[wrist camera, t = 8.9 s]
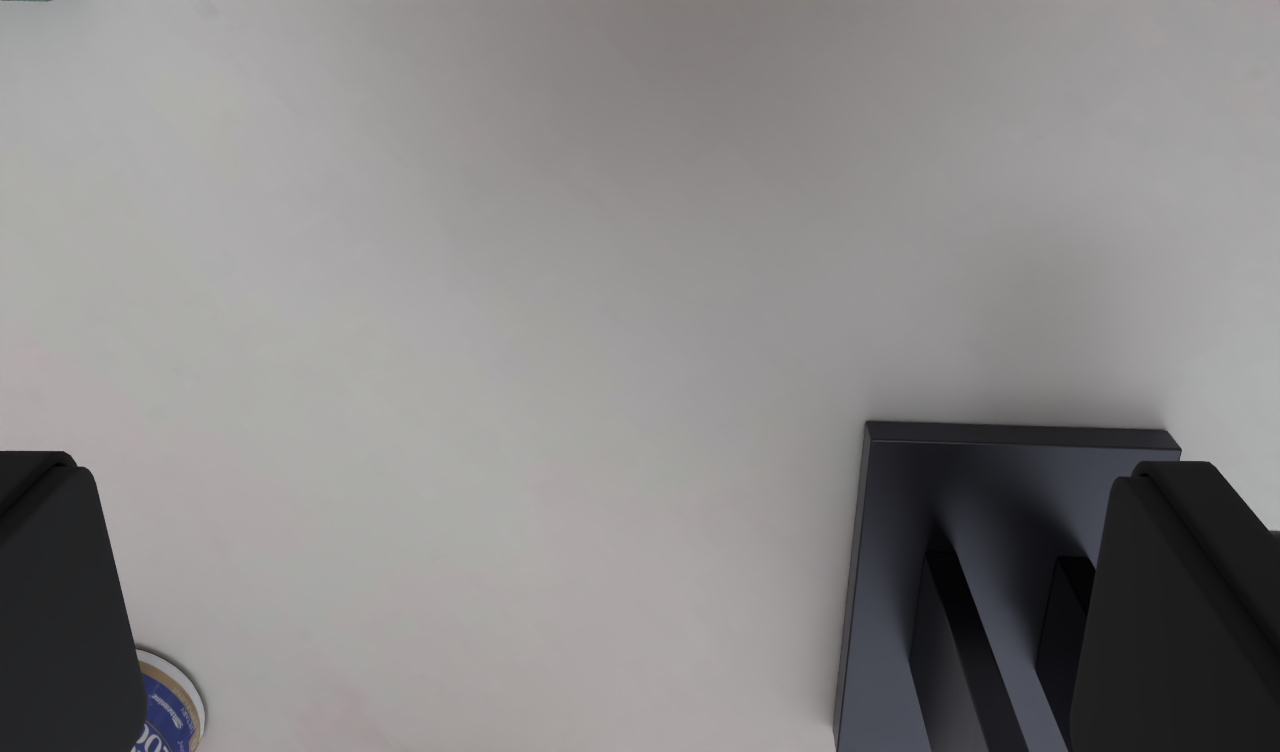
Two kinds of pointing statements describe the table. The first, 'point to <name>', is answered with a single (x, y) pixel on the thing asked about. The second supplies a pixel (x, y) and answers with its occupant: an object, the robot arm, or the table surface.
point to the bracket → (974, 582)
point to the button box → (27, 0)
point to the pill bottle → (169, 708)
